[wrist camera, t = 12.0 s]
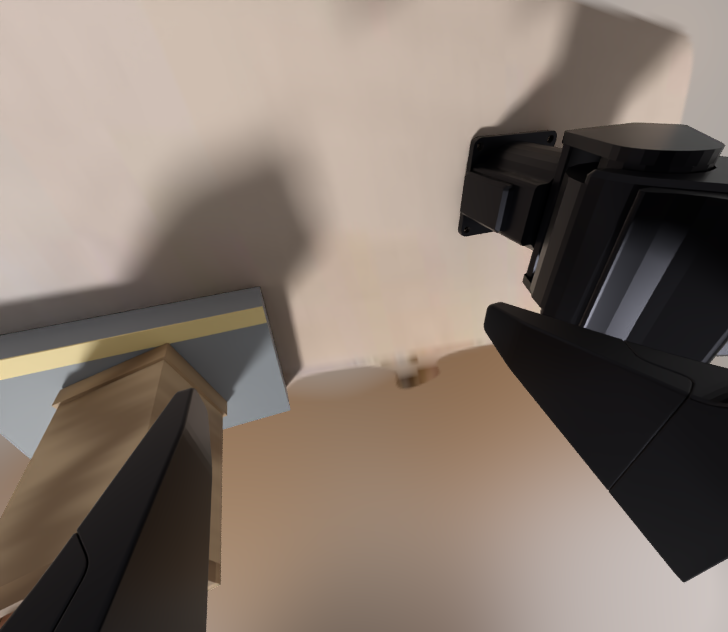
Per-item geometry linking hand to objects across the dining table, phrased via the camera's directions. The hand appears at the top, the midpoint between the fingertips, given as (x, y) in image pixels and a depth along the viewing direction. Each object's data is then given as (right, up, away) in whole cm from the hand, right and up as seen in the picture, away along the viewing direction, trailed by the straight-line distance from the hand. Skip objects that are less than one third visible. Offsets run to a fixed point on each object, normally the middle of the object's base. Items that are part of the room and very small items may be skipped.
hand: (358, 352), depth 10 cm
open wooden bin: (-13, -4, +11) cm, 18 cm away
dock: (-14, -3, +13) cm, 19 cm away
